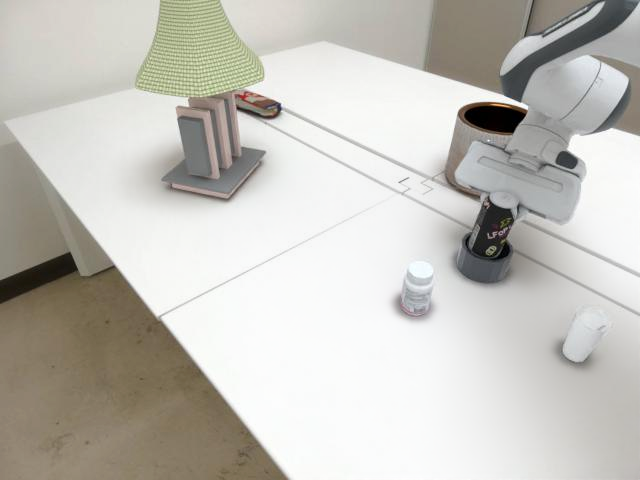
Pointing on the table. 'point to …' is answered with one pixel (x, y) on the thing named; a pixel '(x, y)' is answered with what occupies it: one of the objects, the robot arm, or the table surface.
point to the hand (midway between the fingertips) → (492, 225)
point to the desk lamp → (203, 92)
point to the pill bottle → (417, 288)
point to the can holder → (484, 263)
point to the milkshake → (586, 332)
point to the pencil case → (257, 103)
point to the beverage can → (493, 224)
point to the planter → (480, 131)
